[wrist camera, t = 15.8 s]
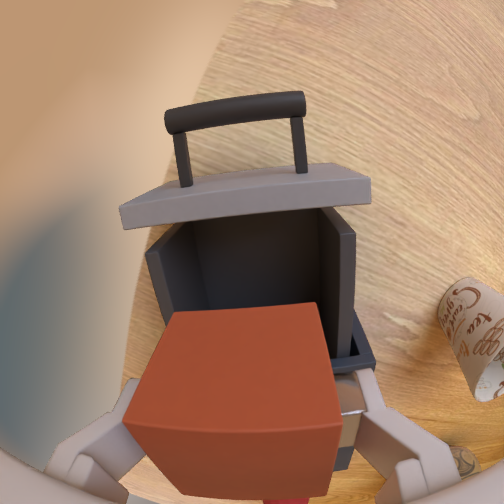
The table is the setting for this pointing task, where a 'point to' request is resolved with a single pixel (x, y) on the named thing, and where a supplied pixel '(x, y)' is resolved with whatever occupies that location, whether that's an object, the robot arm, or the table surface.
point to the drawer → (253, 225)
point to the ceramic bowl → (465, 462)
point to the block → (241, 404)
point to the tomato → (287, 501)
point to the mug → (476, 335)
